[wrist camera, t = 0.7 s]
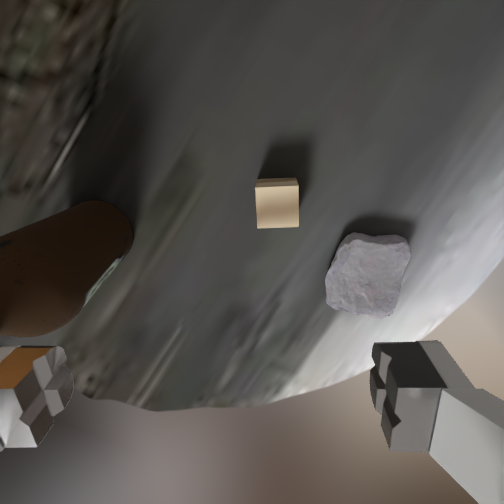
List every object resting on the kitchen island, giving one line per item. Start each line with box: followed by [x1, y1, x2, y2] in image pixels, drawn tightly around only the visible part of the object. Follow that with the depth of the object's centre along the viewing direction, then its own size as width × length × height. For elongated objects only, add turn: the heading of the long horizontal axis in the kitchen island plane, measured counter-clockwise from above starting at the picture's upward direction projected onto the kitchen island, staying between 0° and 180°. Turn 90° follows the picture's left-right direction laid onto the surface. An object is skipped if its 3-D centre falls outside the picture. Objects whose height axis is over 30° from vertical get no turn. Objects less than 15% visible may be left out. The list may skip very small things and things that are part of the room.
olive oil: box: [0, 200, 133, 337], centre depth 37 cm, size 11×11×25 cm
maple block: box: [255, 177, 299, 228], centre depth 43 cm, size 5×5×5 cm
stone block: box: [325, 232, 411, 319], centre depth 47 cm, size 12×5×10 cm
